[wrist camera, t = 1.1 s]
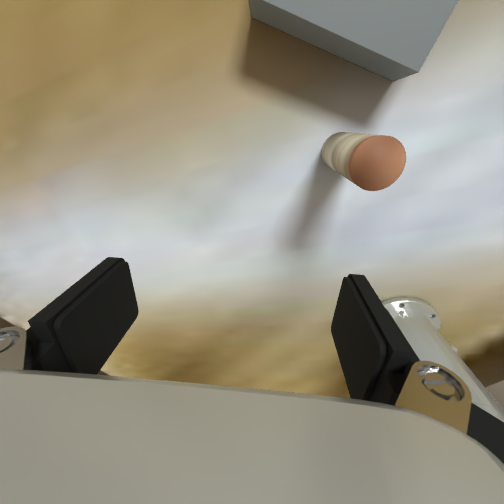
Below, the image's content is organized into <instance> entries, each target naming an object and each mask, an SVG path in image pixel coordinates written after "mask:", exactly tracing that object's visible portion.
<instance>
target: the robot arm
mask: <svg viewBox="0 0 504 504" xmlns="http://www.w3.org/2000/svg"><path fill="white" fill-rule="evenodd" d="M137 316H138V306H137V301H136V297H135V292H134V287H133V283H132V278H131V273H130V269H129V265H128V263H127V262H125V260H124V259H123V258H114V257H108V258H106V259H105V260H104V261H102V262H101V263H100V264H99V265H97V266H96V267H95V268H94V269H92V270H91V271H90V272H89V273H87V274H86V275H85V276H84V277H82V278H81V279H80V280H79V281H77V282H76V283H75V284H74V285H72V286H71V287H70V288H69V289H67V290H66V291H65V292H64V293H62V294H61V295H60V296H59V297H57V298H56V299H55V300H54V301H52V302H51V303H50V304H49V305H47V306H46V307H45V308H44V309H42V310H41V311H40V312H39V313H37V314H36V315H35V316H34V317H32V318H31V319H30V320H29V321H28V322H29V324H30V326H31V327H30V328H29V329H28V330H27V331H26V330H25V329H23V328H21V327H7V328H3V329H0V504H504V410H503V409H502V408H501V406H500V405H499V404H498V403H497V402H496V400H495V399H494V398H493V397H492V396H491V394H490V393H489V392H488V391H487V389H486V388H485V387H484V386H483V385H482V383H481V382H480V381H479V380H478V379H477V377H476V376H475V375H474V374H473V373H472V371H471V370H470V369H469V368H468V366H467V365H466V364H465V363H464V362H463V360H462V359H461V358H460V357H459V356H458V354H457V353H456V352H457V347H456V346H454V345H452V344H449V343H448V342H447V341H446V340H445V339H444V337H443V336H442V335H441V334H440V333H439V330H440V326H441V324H440V318H439V315H438V314H437V312H436V311H435V310H434V309H433V308H432V307H431V306H430V305H429V304H428V303H426V302H424V301H422V300H419V299H415V298H405V297H401V298H394V299H390V300H386V301H383V302H381V301H380V299H379V298H378V296H377V294H376V293H375V291H374V290H373V288H372V287H371V285H370V283H369V282H368V280H367V279H366V277H365V276H364V275H356V274H349V275H348V277H344V278H343V281H342V285H341V289H340V293H339V297H338V301H337V305H336V309H335V313H334V317H333V321H332V325H331V332H332V336H333V340H334V343H335V346H336V350H337V353H338V356H339V360H340V363H341V366H342V370H343V373H344V376H345V380H346V383H347V386H348V390H349V393H350V397H351V399H350V398H341V397H332V396H324V395H315V394H305V393H295V392H284V391H274V390H263V389H253V388H242V387H232V386H221V385H210V384H199V383H187V382H176V381H165V380H154V379H142V378H130V377H118V376H105V375H97V373H98V372H99V371H100V369H101V368H102V366H103V365H104V364H105V362H106V361H107V359H108V358H109V356H110V355H111V354H112V352H113V351H114V349H115V348H116V346H117V345H118V344H119V342H120V341H121V339H122V338H123V337H124V335H125V334H126V332H127V331H128V329H129V328H130V327H131V325H132V324H133V322H134V321H135V319H136V318H137Z"/></svg>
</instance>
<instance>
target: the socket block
mask: <svg viewBox="0 0 504 504" xmlns="http://www.w3.org/2000/svg"><path fill="white" fill-rule="evenodd" d="M457 2H458V0H249V6H250V12H251V17H252V18H254V19H256V20H259V21H261V22H263V23H265V24H267V25H270V26H272V27H274V28H276V29H278V30H281V31H283V32H285V33H287V34H289V35H292V36H294V37H296V38H298V39H301V40H303V41H305V42H307V43H309V44H312V45H314V46H316V47H318V48H320V49H323V50H325V51H327V52H329V53H331V54H334V55H336V56H338V57H340V58H342V59H345V60H347V61H349V62H351V63H354V64H356V65H358V66H360V67H362V68H365V69H367V70H369V71H371V72H373V73H376V74H378V75H380V76H382V77H384V78H387V79H389V80H391V81H396V80H398V79H401V78H404V77H407V76H409V75H412V74H415V73H418V72H419V71H420V69H421V67H422V65H423V63H424V62H425V60H426V58H427V56H428V54H429V53H430V51H431V49H432V47H433V45H434V44H435V42H436V40H437V38H438V36H439V35H440V33H441V31H442V29H443V27H444V26H445V24H446V22H447V20H448V18H449V17H450V15H451V13H452V11H453V9H454V8H455V6H456V4H457Z"/></svg>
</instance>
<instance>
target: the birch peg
mask: <svg viewBox="0 0 504 504" xmlns="http://www.w3.org/2000/svg"><path fill="white" fill-rule="evenodd" d="M322 159H323V161H324V162H325V164H326V165H328V166H329V167H330V168H332V169H333V170H335V171H336V172H338V173H339V174H341V175H342V176H344V177H345V178H347V179H348V180H350V181H351V182H353V183H354V184H356V185H357V186H359V187H360V188H362V189H364V190H368V191H377V190H381V189H384V188H386V187H388V186H390V185H391V184H393V183H394V182H395V181H396V180H397V179H398V178H399V176H400V175H401V173H402V171H403V169H404V167H405V163H406V152H405V149H404V147H403V145H402V143H401V142H400V141H398V140H397V139H396V138H394V137H391V136H383V135H370V134H357V133H345V132H339V133H335V134H333V135H331V136H330V137H329V138H328V139H327V140H326V141H325V143H324V145H323V147H322Z"/></svg>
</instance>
